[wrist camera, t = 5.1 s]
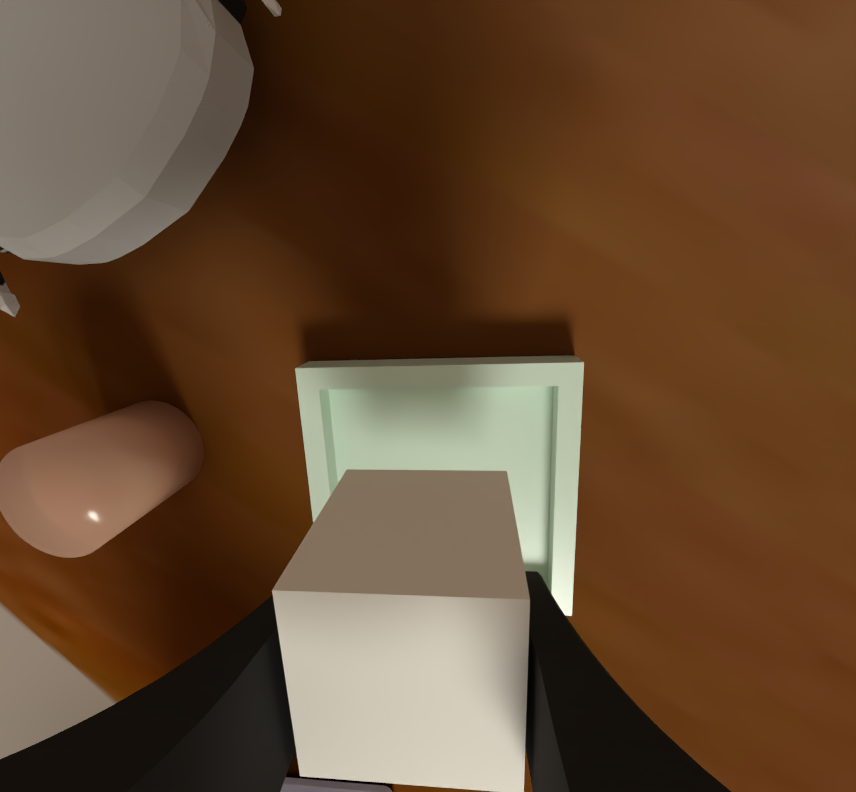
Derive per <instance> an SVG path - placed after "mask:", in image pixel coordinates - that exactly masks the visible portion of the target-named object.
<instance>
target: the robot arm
mask: <svg viewBox="0 0 856 792" xmlns="http://www.w3.org/2000/svg"><path fill="white" fill-rule="evenodd" d="M525 574H526V580H527V585H528V591H529V596H530V618H529V648H528V678H527V708H526V738H525V747H526V753H527V758H528V764H529V770H530V776H531V782H532V787H533V792H731V791H730V790H728V789H727V788H726V787H725V786H724V785H722V784H721V783H720V782H719V781H718V780H716V779H715V778H714V777H713V776H712V775H710V774H709V773H708V772H707V771H706V770H704V769H703V768H702V767H701V766H700V765H699V764H698V763H697V762H695V761H694V760H693V759H692V758H691V757H690V756H689V755H688V754H687V753H686V752H685V751H684V750H682V749H681V748H680V747H679V746H678V745H677V744H676V743H675V742H674V741H673V740H672V739H671V738H669V737H668V736H667V735H666V734H665V733H664V732H663V731H662V730H661V729H660V728H659V727H658V726H657V725H656V724H655V723H654V722H653V721H652V720H651V719H650V718H649V717H648V716H647V715H646V714H645V713H644V712H643V711H642V710H641V709H640V708H639V707H638V706H637V705H636V704H635V702H634V701H633V700H632V699H631V698H630V697H629V696H628V695H627V694H626V693H625V692H624V691H623V689H622V688H621V687H620V686H619V685H618V684H617V683H616V681H615V680H614V679H613V678H612V677H611V676H610V674H609V673H608V672H607V671H606V670H605V668H604V667H603V666H602V665H601V663H600V662H599V661H598V660H597V658H596V657H595V656H594V655H593V653H592V652H591V651H590V649H589V648H588V647H587V646H586V644H585V643H584V642H583V640H582V639H581V637H580V636H579V635H578V633H577V632H576V630H575V629H574V628H573V626H572V625H571V623H570V622H569V621H568V619H567V618H566V616H565V615H564V613H563V612H562V610H561V608H560V607H559V605H558V604H557V602H556V601H555V599H554V597H553V596H552V594H551V592H550V591H549V589H548V587H547V585H546V583H545V582H544V580H543V578H542V576H541V575H540V574H539V573H538V572H536V571H525ZM295 752H296V746H295V740H294V733H293V726H292V720H291V713H290V706H289V700H288V693H287V687H286V680H285V673H284V667H283V660H282V653H281V647H280V640H279V634H278V627H277V620H276V614H275V607H274V601H273V595H272V596H271V597H270V598H269V599H267V600H266V601H265V602H264V603H263V604H261V605H260V606H259V607H258V608H257V609H255V610H254V611H253V612H252V613H251V614H249V615H248V616H247V617H246V618H244V619H243V620H242V621H240V622H239V623H238V624H236V625H235V626H234V627H233V628H231V629H230V630H229V631H227V632H226V633H225V634H223V635H222V636H221V637H220V638H218V639H217V640H216V641H214V642H213V643H212V644H210V645H209V646H207V647H206V648H205V649H203V650H202V651H200V652H199V653H198V654H196V655H195V656H193V657H192V658H190V659H189V660H187V661H186V662H184V663H183V664H181V665H180V666H178V667H177V668H175V669H173V670H172V671H170V672H169V673H167V674H166V675H164V676H163V677H161V678H159V679H158V680H156V681H154V682H153V683H151V684H149V685H147V686H146V687H144V688H142V689H140V690H139V691H137V692H135V693H133V694H132V695H130V696H128V697H127V698H125V699H123V700H121V701H120V702H118V703H116V704H114V705H113V706H111V707H109V708H107V709H105V710H103V711H102V712H100V713H98V714H96V715H94V716H92V717H90V718H88V719H86V720H84V721H82V722H80V723H78V724H76V725H74V726H72V727H70V728H68V729H66V730H64V731H62V732H60V733H58V734H56V735H54V736H52V737H50V738H48V739H45V740H43V741H41V742H39V743H37V744H35V745H32V746H30V747H28V748H26V749H23V750H21V751H19V752H17V753H14V754H12V755H9V756H7V757H5V758H2V759H0V792H392V790H391V789H390V788H389V787H387V786H384V785H373V784H361V783H350V782H338V781H326V780H314V779H302V778H291V777H286V775H287V772H288V769H289V767H290V764H291V762H292V760H293V757H294V755H295Z"/></svg>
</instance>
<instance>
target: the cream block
mask: <svg viewBox="0 0 856 792" xmlns="http://www.w3.org/2000/svg"><path fill="white" fill-rule="evenodd" d="M272 594H273V601H274V607H275V614H276V620H277V627H278V634H279V640H280V647H281V653H282V660H283V667H284V673H285V680H286V687H287V693H288V700H289V706H290V713H291V720H292V726H293V733H294V740H295V746H296V753H297V759H298V766H299V773H300V776H302V777H315V778H328V779H341V780H354V781H367V782H380V783H393V784H406V785H419V786H431V787H444V788H457V789H470V790H483V791H496V792H524V768H525V738H526V708H527V678H528V648H529V618H530V596H529V591H528V585H527V580H526V574H525V568H524V563H523V557H522V552H521V546H520V541H519V535H518V530H517V524H516V518H515V513H514V507H513V502H512V496H511V491H510V485H509V480H508V474H507V471H475V470H358V469H347V470H346V471H345V473H344V475H343V476H342V478H341V480H340V481H339V483H338V484H337V486H336V488H335V489H334V491H333V492H332V494H331V496H330V497H329V499H328V501H327V502H326V504H325V505H324V507H323V509H322V510H321V512H320V513H319V515H318V517H317V518H316V520H315V522H314V523H313V525H312V526H311V528H310V530H309V531H308V533H307V534H306V536H305V538H304V539H303V541H302V543H301V544H300V546H299V547H298V549H297V551H296V552H295V554H294V556H293V557H292V559H291V560H290V562H289V564H288V565H287V567H286V568H285V570H284V572H283V573H282V575H281V577H280V578H279V580H278V581H277V583H276V585H275V586H274V588H273V589H272Z"/></svg>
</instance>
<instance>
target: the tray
mask: <svg viewBox="0 0 856 792" xmlns="http://www.w3.org/2000/svg"><path fill="white" fill-rule="evenodd" d="M295 372H296V380H297V389H298V397H299V406H300V414H301V423H302V431H303V440H304V448H305V457H306V465H307V474H308V482H309V491H310V499H311V508H312V516H313V523H314V522H315V520H316V518H317V517H318V515H319V513H320V512H321V510H322V509H323V507H324V505H325V504H326V502H327V501H328V499H329V497H330V496H331V494H332V492H333V491H334V489H335V488H336V486H337V484H338V483H339V481H340V480H341V478H342V476H343V475H344V473H345V471H346V470H347V469H358V470H475V471H507V474H508V480H509V485H510V491H511V496H512V502H513V507H514V513H515V518H516V524H517V530H518V535H519V541H520V546H521V552H522V557H523V563H524V568H525V571H536V572H538V573H539V574H540V575H541V576H542V578H543V580H544V582H545V583H546V585H547V587H548V589H549V591H550V592H551V594H552V596H553V597H554V599H555V601H556V602H557V604H558V605H559V607H560V608H561V610H562V612H563V613H564V615H568V616H572V601H573V580H574V560H575V539H576V518H577V497H578V477H579V456H580V435H581V415H582V394H583V373H584V362H583V361H582V360H580V359H579V358H578V357H577V356H575V355H563V356H518V357H473V358H429V359H384V360H339V361H308V362H306V363H305V364H303V365H301V366H299V367H297V368H295Z"/></svg>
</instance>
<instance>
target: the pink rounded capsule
mask: <svg viewBox="0 0 856 792" xmlns="http://www.w3.org/2000/svg"><path fill="white" fill-rule="evenodd" d="M204 454H205V451H204V444H203V440H202V437H201V434H200V432H199V430H198V429H197V427H196V426H195V424H194V423H193V421H192V420H191V419H190V418H189V417H188V416H187V415H186V414H185V413H184V412H182V411H181V410H180V409H178V408H176V407H175V406H172V405H170V404H168V403H165V402H161V401H154V400H148V401H142V402H138V403H135V404H133V405H130V406H127V407H125V408H122V409H119V410H117V411H114V412H111V413H108V414H106V415H103V416H100V417H98V418H95V419H92V420H90V421H87V422H84V423H82V424H79V425H76V426H74V427H71V428H68V429H65V430H63V431H60V432H57V433H55V434H52V435H49V436H47V437H44V438H41V439H39V440H36V441H33V442H31V443H28V444H25V445H22V446H20V447H17V448H15V449H13V450H12V451H10V452H9V453H8V454H7V455H6V456H5V457H4V458H3V459H2V460H1V462H0V510H1V512H2V514H3V516H4V518H5V519H6V521H7V522H8V524H9V525H10V526H11V528H12V529H13V530H14V531H15V532H16V533H17V534H18V535H19V536H20V537H21V538H22V539H23V540H25V541H26V542H27V543H29V544H30V545H32V546H33V547H35V548H37V549H38V550H41V551H43V552H45V553H48V554H51V555H54V556H59V557H66V558H74V557H81V556H85V555H88V554H90V553H92V552H94V551H95V550H97V549H98V548H99V547H101V546H102V545H104V544H105V543H106V542H108V541H109V540H111V539H112V538H113V537H115V536H116V535H117V534H119V533H120V532H122V531H123V530H124V529H126V528H127V527H129V526H130V525H131V524H133V523H134V522H136V521H137V520H138V519H140V518H141V517H143V516H144V515H145V514H147V513H148V512H149V511H151V510H152V509H154V508H155V507H156V506H158V505H159V504H161V503H162V502H163V501H165V500H166V499H168V498H169V497H170V496H172V495H173V494H175V493H176V492H177V491H179V490H180V489H181V488H183V487H184V486H186V485H187V484H188V483H190V482H191V481H193V480H194V479H195V478H196V477H197V475H198V474H199V472H200V470H201V468H202V466H203V463H204Z"/></svg>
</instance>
